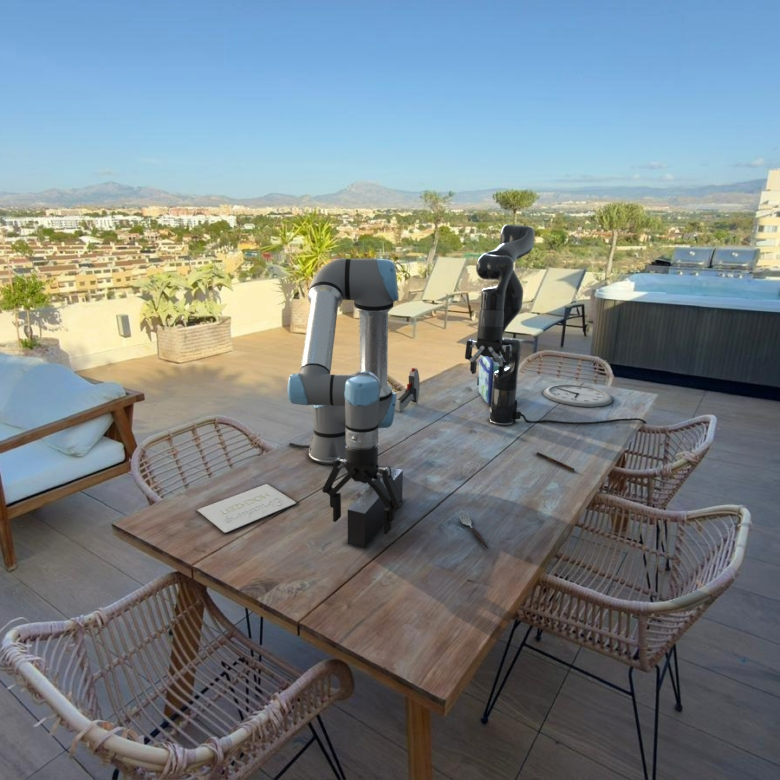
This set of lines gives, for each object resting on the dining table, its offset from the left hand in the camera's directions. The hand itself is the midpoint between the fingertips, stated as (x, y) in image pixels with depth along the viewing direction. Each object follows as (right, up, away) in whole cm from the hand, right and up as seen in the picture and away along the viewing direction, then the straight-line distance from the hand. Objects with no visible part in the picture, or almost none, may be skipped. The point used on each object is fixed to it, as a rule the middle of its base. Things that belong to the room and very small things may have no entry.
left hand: (361, 525), depth 126 cm
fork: (+28, -3, +5) cm, 28 cm away
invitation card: (-32, +1, +15) cm, 35 cm away
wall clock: (+93, +30, +113) cm, 150 cm away
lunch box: (+52, +29, +107) cm, 123 cm away
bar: (+3, -1, +9) cm, 10 cm away
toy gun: (+14, +25, +95) cm, 99 cm away
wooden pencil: (+61, +9, +44) cm, 76 cm away
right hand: (+37, +37, +35) cm, 63 cm away
